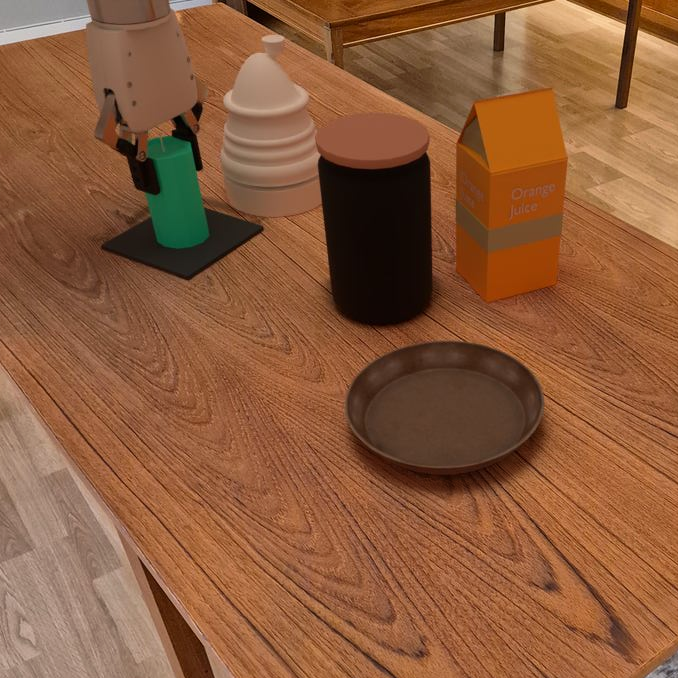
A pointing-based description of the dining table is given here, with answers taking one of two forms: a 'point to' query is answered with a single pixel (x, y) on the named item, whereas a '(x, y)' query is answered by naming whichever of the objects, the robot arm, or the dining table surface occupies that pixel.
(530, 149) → the orange juice
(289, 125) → the honey pot
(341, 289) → the coffee jar
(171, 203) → the candle
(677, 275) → the dining table surface
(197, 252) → the mat
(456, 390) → the plant saucer
